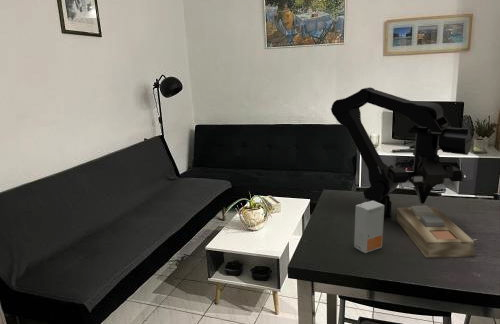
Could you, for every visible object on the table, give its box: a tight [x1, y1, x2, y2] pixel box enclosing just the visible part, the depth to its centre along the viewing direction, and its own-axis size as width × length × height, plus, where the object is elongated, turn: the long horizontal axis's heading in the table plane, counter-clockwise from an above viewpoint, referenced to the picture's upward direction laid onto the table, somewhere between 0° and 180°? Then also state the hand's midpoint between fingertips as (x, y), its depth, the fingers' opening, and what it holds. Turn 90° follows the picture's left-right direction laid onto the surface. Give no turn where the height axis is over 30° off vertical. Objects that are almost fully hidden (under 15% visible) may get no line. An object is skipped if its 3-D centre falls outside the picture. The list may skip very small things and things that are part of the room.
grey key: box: [420, 215, 444, 227], centre depth 101 cm, size 4×4×2 cm
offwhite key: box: [410, 205, 433, 216], centre depth 108 cm, size 4×4×2 cm
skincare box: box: [353, 201, 385, 254], centre depth 97 cm, size 6×4×12 cm
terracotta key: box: [431, 231, 456, 239], centre depth 95 cm, size 4×4×2 cm
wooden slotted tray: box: [396, 206, 475, 258], centre depth 102 cm, size 11×22×4 cm, turn 177°
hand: (422, 203), depth 108 cm, fingers closed
